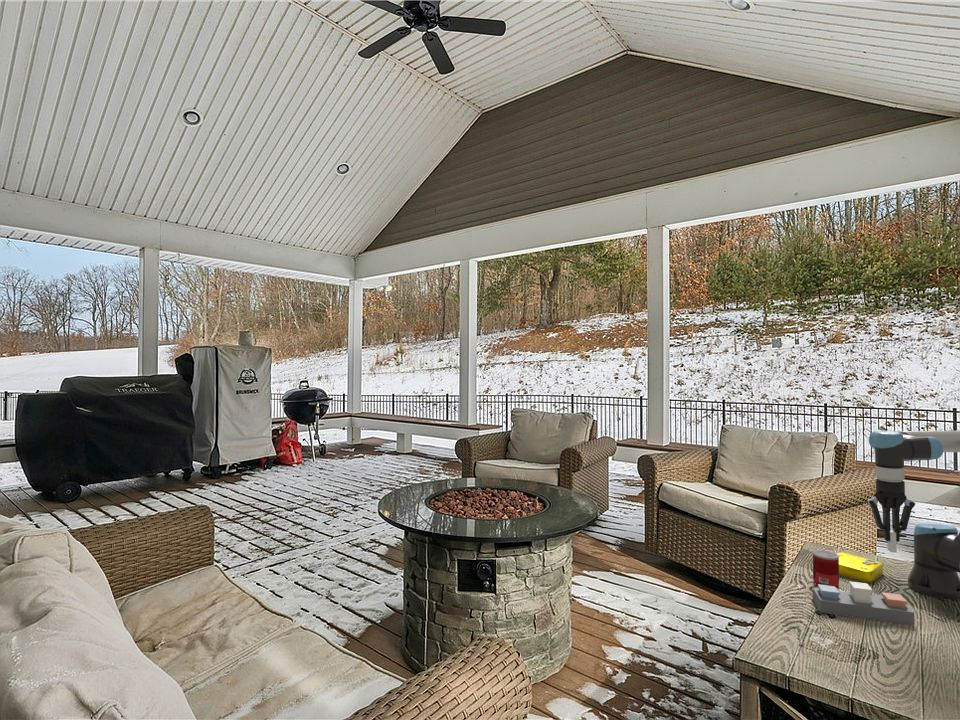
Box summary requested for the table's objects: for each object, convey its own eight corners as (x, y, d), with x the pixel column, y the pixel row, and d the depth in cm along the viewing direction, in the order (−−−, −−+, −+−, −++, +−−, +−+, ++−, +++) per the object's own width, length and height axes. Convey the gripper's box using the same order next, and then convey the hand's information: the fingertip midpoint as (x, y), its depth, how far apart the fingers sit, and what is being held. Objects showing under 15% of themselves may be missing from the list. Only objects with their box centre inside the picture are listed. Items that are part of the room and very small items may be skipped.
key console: (900, 610, 173) (900, 598, 173) (914, 625, 163) (914, 612, 163) (812, 599, 181) (812, 587, 181) (820, 612, 172) (820, 600, 172)
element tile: (840, 561, 214) (840, 550, 214) (884, 574, 202) (884, 561, 202) (824, 571, 205) (824, 558, 205) (870, 584, 193) (870, 571, 193)
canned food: (844, 588, 189) (844, 558, 189) (821, 588, 189) (821, 558, 189) (830, 579, 196) (830, 550, 196) (808, 579, 197) (808, 550, 196)
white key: (867, 598, 174) (867, 583, 174) (872, 605, 169) (872, 590, 169) (849, 596, 175) (849, 581, 175) (854, 603, 171) (854, 587, 171)
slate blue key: (835, 601, 177) (835, 586, 177) (839, 608, 172) (839, 592, 172) (817, 599, 178) (817, 584, 178) (821, 605, 174) (821, 590, 174)
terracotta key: (900, 609, 171) (900, 594, 171) (906, 617, 166) (906, 601, 166) (881, 607, 172) (881, 592, 172) (887, 614, 168) (887, 598, 168)
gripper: (908, 477, 175) (910, 548, 175) (862, 476, 179) (864, 545, 179) (919, 482, 168) (921, 556, 168) (871, 481, 171) (873, 553, 172)
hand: (892, 550), depth 173 cm, fingers closed
